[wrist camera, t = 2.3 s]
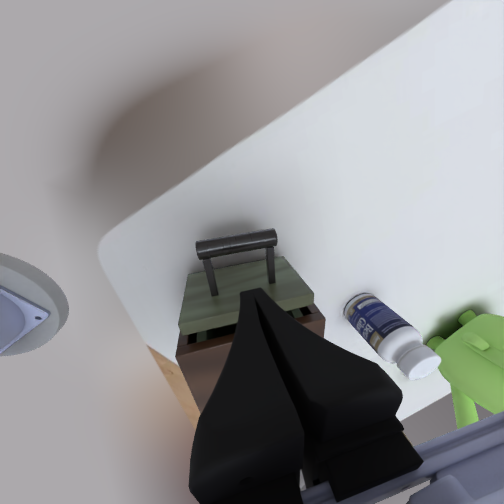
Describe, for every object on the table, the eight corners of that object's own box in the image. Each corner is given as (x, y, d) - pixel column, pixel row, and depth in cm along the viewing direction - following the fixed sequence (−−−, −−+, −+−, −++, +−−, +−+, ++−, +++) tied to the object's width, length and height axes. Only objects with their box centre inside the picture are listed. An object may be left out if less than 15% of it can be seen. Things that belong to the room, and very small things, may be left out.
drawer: (173, 229, 17) (153, 264, 11) (282, 212, 18) (318, 234, 12) (211, 352, 24) (212, 414, 18) (285, 333, 26) (308, 384, 20)
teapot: (381, 362, 37) (488, 482, 23) (475, 286, 32) (678, 377, 18) (425, 387, 47) (516, 481, 33) (500, 332, 43) (643, 413, 29)
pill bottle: (340, 302, 27) (402, 367, 18) (373, 286, 27) (450, 343, 18) (345, 325, 29) (402, 391, 21) (375, 310, 29) (445, 370, 21)
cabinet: (187, 286, 20) (174, 357, 13) (285, 266, 22) (326, 318, 14) (211, 362, 26) (212, 441, 19) (287, 342, 28) (316, 407, 20)
